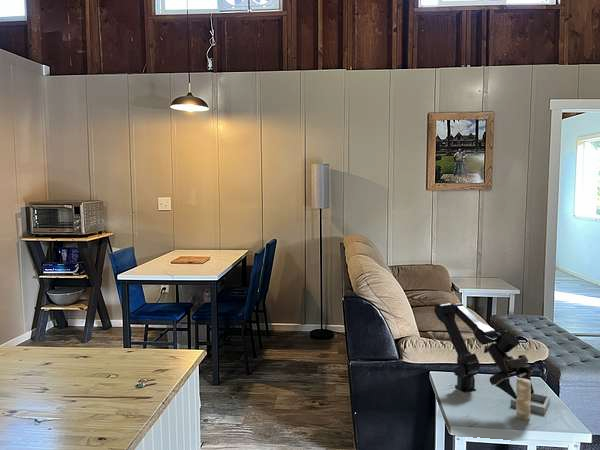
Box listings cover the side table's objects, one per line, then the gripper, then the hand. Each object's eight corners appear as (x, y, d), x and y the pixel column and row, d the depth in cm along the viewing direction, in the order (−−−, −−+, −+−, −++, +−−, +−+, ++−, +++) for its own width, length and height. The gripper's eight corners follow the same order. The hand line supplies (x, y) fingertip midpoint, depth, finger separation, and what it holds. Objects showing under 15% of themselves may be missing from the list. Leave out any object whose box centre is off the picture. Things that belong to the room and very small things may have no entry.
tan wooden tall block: (517, 419, 169) (518, 382, 168) (514, 413, 174) (515, 377, 173) (531, 420, 168) (532, 383, 167) (528, 414, 172) (528, 378, 171)
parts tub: (510, 405, 180) (510, 399, 179) (517, 394, 189) (517, 389, 189) (544, 414, 172) (544, 407, 172) (549, 402, 182) (549, 396, 182)
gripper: (496, 352, 169) (521, 392, 160) (529, 344, 177) (555, 382, 168) (479, 365, 177) (502, 404, 168) (512, 357, 185) (536, 394, 176)
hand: (524, 396), depth 170 cm, fingers open, 9 cm apart
